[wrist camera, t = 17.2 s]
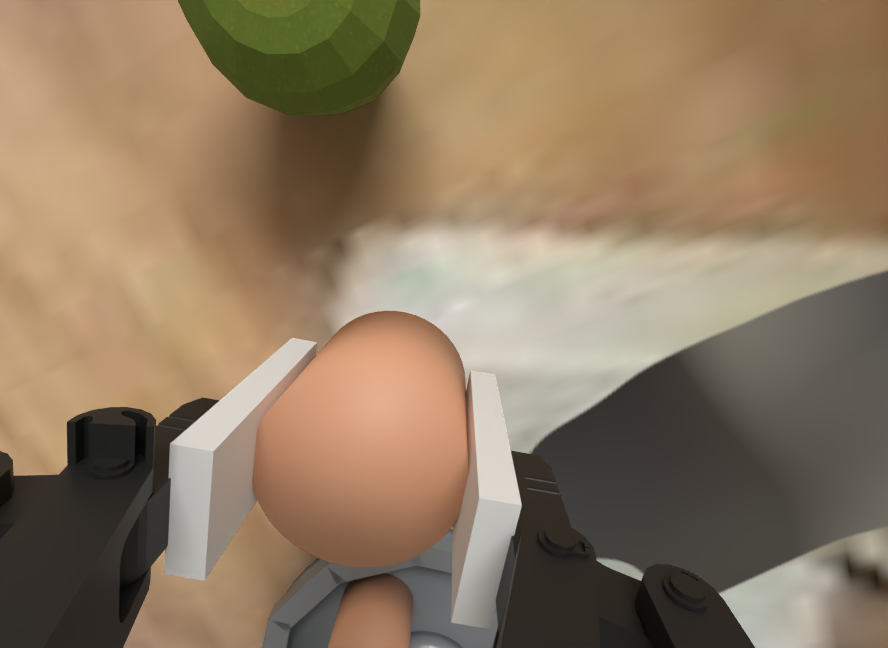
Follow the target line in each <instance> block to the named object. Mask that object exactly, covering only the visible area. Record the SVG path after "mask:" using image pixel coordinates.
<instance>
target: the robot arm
mask: <svg viewBox="0 0 888 648" xmlns="http://www.w3.org/2000/svg"><path fill="white" fill-rule="evenodd" d="M316 347H317V342H312V341H306V340H301V339H295V338H291V339H290V340H289V341H288V342H287V343H286V344H285V345H283V346H282V347H281V348H280V349H279V350H278V351H276V352H275V353H274V354H273V355H272V356H271V357H270V358H268V359H267V360H266V361H265V362H264V363H263V364H261V365H260V366H259V367H258V368H257V369H256V370H255V371H253V372H252V373H251V374H250V375H249V376H248V377H246V378H245V379H244V380H243V381H242V382H241V383H240V384H238V385H237V386H236V387H235V388H234V389H233V390H231V391H230V392H229V393H228V394H227V395H226V396H225V397H223V398H222V399H221V400H220V401H219V400H213V399H208V398H200V399H198V400H195V401H192V402H189V403H187V404H184V405H182V406H181V407H179V408H178V409H177V410H176V411H174V412H173V413H172V414H170V416H169V417H166V418H165V419H164V420H162V421H161V422H160V423H159V425H158V426H156V419H155V418H154V417H153V415H152V414H150V413H148V412H146V411H143V410H141V409H135V408H128V407H109V408H103V409H97V410H92V411H89V412H86V413H83V414H80V415H77V416H75V417H74V418H72V419H71V420H69V421H68V422H67V457H68V465H67V466H66V468H65V469H64V470H63V471H62V472H61V473H60V474H59V475H35V476H13V460H12V459H11V458H10V456H9V455H8V454H7V453H4V452H1V451H0V648H123V646H124V644H125V642H126V640H127V637H128V635H129V633H130V631H131V628H132V626H133V624H134V622H135V619H136V617H137V615H138V613H139V610H140V608H141V606H142V604H143V601H144V599H145V597H146V595H147V592H148V590H149V585H150V575H151V566H152V564H153V563H154V562H155V561H156V559H157V558H158V557H159V556H160V555H161V553H162V552H163V551H164V550H165V570H164V574H169V575H175V576H180V577H186V578H192V579H198V580H204V581H205V579H206V578H207V576H208V575H209V573H210V572H211V570H212V569H213V567H214V566H215V564H216V562H217V561H218V559H219V558H220V556H221V555H222V553H223V552H224V550H225V549H226V547H227V546H228V544H229V543H230V541H231V540H232V538H233V537H234V535H235V533H236V532H237V530H238V529H239V527H240V526H241V524H242V523H243V521H244V520H245V518H246V517H247V515H248V514H249V512H250V511H251V509H252V508H253V506H254V504H255V503H256V501H257V500H258V499H257V497H256V494H255V491H254V488H253V483H252V479H253V468H254V457H255V446H256V435H257V429H258V427H259V425H260V423H261V422H262V420H263V418H264V416H265V415H266V414H267V412H268V411H269V410H270V408H271V407H272V406H273V405H274V404H275V402H276V401H277V400H278V399H279V398H280V397H281V396H282V394H283V393H284V392H285V391H286V390H287V389H288V387H289V386H290V385H291V384H292V383H293V382H294V381H295V379H296V378H297V377H298V376H299V375H300V374H301V373H302V371H303V370H304V369H305V368H306V367H307V366H308V365H309V363H310V362H311V361H312V360H313V359H314V358H315V355H316ZM466 411H467V437H468V463H469V473H468V478H467V482H466V487H465V492H464V496H463V501H462V505H461V510H460V514H459V516H458V518H457V520H456V522H455V523H454V525H453V542H452V601H451V623H457V624H462V625H468V626H474V627H480V628H486V629H491V625H492V621H493V617H494V614H495V610H497V621H498V627H497V631H496V635H495V639H494V643H493V647H492V648H755V647H754V645H753V644H752V642H751V641H750V639H749V637H748V636H747V634H746V633H745V631H744V630H743V628H742V627H741V625H740V624H739V622H738V621H737V619H736V618H735V616H734V615H733V613H732V612H731V610H730V609H729V607H728V606H727V604H726V602H725V601H724V600H723V598H722V597H721V596H720V595H719V594H718V593H717V592H716V591H715V589H714V588H713V587H711V586H710V585H709V584H707V583H706V582H705V581H704V580H702V579H701V578H699V577H698V576H697V575H695V574H693V573H690V572H689V571H687V570H684V569H682V568H678V567H675V566H671V565H663V564H655V565H653V566H651V567H649V568H647V569H646V571H645V573H644V575H643V578H642V581H639V580H637V579H634V578H632V577H629V576H627V575H624V574H622V573H620V572H617V571H615V570H612V569H610V568H608V567H606V566H604V565H602V564H601V563H599V562H598V561H596V555H595V552H594V548H593V546H592V545H591V544H590V543H589V541H588V540H587V539H586V538H585V537H584V536H583V535H582V534H580V533H579V532H577V531H576V530H574V529H573V528H571V525H570V522H569V519H568V516H567V513H566V510H565V507H564V504H563V501H562V498H561V495H559V489H558V486H557V484H556V480H555V478H554V475H553V472H552V469H551V467H550V466H549V465H548V464H547V463H546V462H545V461H543V459H542V458H541V457H540V456H538V455H532V454H527V453H521V452H515V451H511V450H510V445H509V440H508V435H507V430H506V425H505V420H504V416H503V411H502V406H501V401H500V396H499V391H498V386H497V381H496V376H495V374H490V373H484V372H479V371H473V370H470V375H469V380H468V385H467V390H466Z"/></svg>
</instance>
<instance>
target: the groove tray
mask: <svg viewBox="0 0 888 648" xmlns="http://www.w3.org/2000/svg"><path fill="white" fill-rule="evenodd" d="M452 542H453V530H449V531H448V532H447V534H446V535H445V536H444V537H443V538H442V539H441V540H440V541H439V542H437V543H436V544H435V545H434V546H432V547H431V548H430V549H428V550H426V551H425V552H423V553H422V554H420V555H418V556H416V557H413V558H411V559H409V560H407V561H403V562H400V563H397V564H393V565H388V566H383V567H371V568H363V567H350V566H343V565H339V564H335V563H331V562H328V561H325V560H322V559H320V558H318V559H317V560H316V561H314V562H313V563H312V564H311V565H310V566H308V567H307V568H306V569H305V570H304V571H303V572H302V573H301V575H300V576H299V577H298V578H297V579H296V580H295V581H294V583H293V584H292V586H291V587H290V589H289V590H288V591H287V593H286V594H285V595H284V596H283V597H282V598H281V599H280V600H279V601H278V602H277V603H276V604H275V605H274V608H273V610H272V612H271V614H270V617H269V619H268V623H267V629H266V634H265V639H264V644H263V648H328V645H329V642H330V638H331V635H332V631H333V628H334V624H335V621H336V617H337V613H338V610H339V606H340V603H341V599H342V596H343V592H344V590H345V588H346V586H347V585H348V583H349V582H350V581H351V580H356V579H360V578H364V577H369V576H373V575H377V574H382V573H388V574H391V575H394V576H396V577H397V578H399V579H400V580H402V581H403V582H404V583H405V584H406V585H407V586H408V587H409V589H410V591H411V593H412V596H413V601H414V605H413V615H412V625H411V635H410V644H409V648H492V647H493V643H494V639H495V635H496V631H497V627H498V621H497V610H495V614H494V617H493V621H492V625H491V629H486V628H480V627H474V626H468V625H462V624H457V623H451V601H452Z"/></svg>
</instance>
